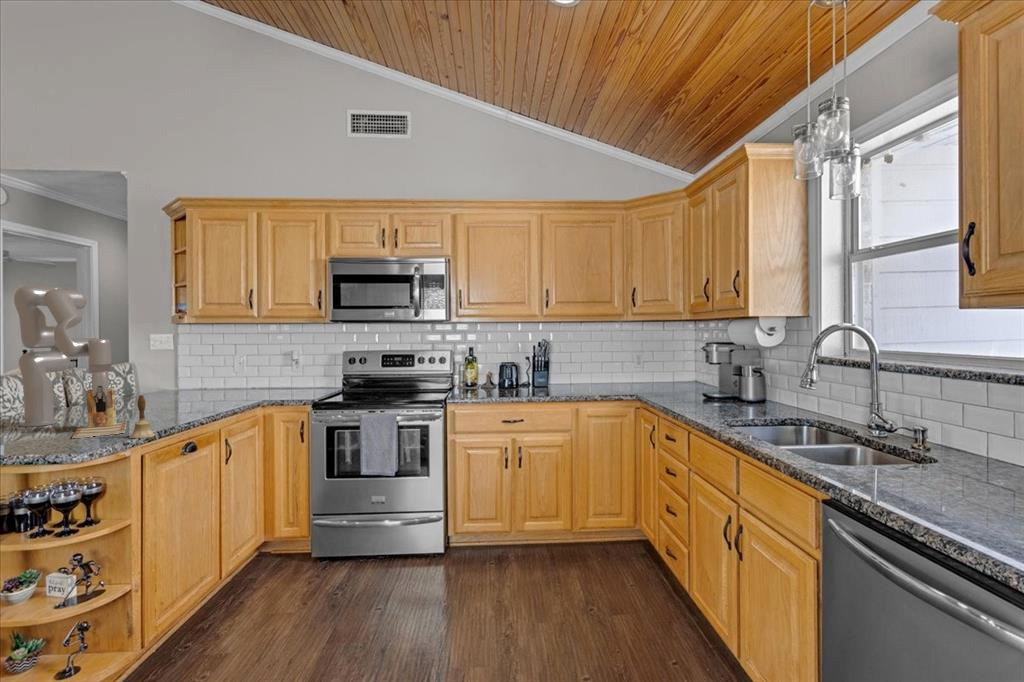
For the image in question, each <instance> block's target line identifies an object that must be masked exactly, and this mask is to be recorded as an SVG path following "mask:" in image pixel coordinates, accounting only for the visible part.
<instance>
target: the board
mask: <svg viewBox="0 0 1024 682" xmlns="http://www.w3.org/2000/svg"><path fill="white" fill-rule="evenodd" d="M126 426H127V427H128V423H127V421H123V422H116V424H115V425H114V426H102V427H90V428H88V425H80V426H79V427H77V429H76V431H75V432H74V434H72V439H73V438H81V439H84V438H83V437H90V438H94V437H93V436H100V435H110V434H119V433H125V434H126V431H125V430H127V427H126ZM110 436H111V435H110ZM100 437H101V436H100Z"/></svg>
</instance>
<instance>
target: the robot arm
mask: <svg viewBox="0 0 1024 682" xmlns="http://www.w3.org/2000/svg"><path fill="white" fill-rule="evenodd" d="M13 296H14V297H13V303H14V307H15V309H16V312H17V314H18V318H19V327H20V339H21V343H22V346H23V347H25V348H27V349H50V350H42V351H31V352H25V353H24V354H22V355H21V356H20V357H19V358H18V366H19V369H20V373H21V379H22V390H23V409H24V410H23V411H24V421H23V422H20V423H19V425H20V427H23V428H24V427H26V428H27V427H28V428H29V427H41V426H49V425H54V424H58V423H59V419H57V418H55V417H54V416H55V415H54V398H53V397H54V394H53V383H52V380H51V379H50V377H49V376H48V375H47V374H48V373H59V372H64V371H67V370H68V369H69V367H70V364H71V358H80V357H81V358H83V357H87V359H88V360H87V361H88V362H87V363H88V373H89V374H91V389H92V397H95V396H96V412H105V411H106V402H105V396H107V392H108V389H109V385H110V384H109V373H111V372H112V369H113V368H112V367H113V366H112V348H111V347H112V345H111V340H110V339H108V338H94V337H87V338H85V337H84V338H83V337H82V338H71V337H70V336H69V333H68V332H67V330H68V329H72V328H73V327H76V326H77V325H79V324H80V323H81V322H82V320H83V316H82V314H81V313H80V311H79V310H81V309H84V308H85V307H86V306H87V298H86V295H85V294H84V293H83V292H82V291H81V290H79V289H73V288H69V287H63V286H62V287H61V286H45V285H24V286H21V287H19V288H18V289H17V290H16V291H15V292H14V295H13ZM39 306H40V307H47V308H48V310H49V312H50V313H51V315H52V317H53V318H54V320H55V321H56V323H57V324H56V325H54V326H49V325H48V326H47V321H46V320H47V319H46V318H47V317H46V315H45V314H44V312H43V311H42V309H40V308H39Z"/></svg>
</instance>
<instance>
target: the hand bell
mask: <svg viewBox="0 0 1024 682" xmlns="http://www.w3.org/2000/svg"><path fill="white" fill-rule="evenodd" d="M146 406H147V404H146V399H145V397H144V394H143V395H142V394H141V395H138V399H137V409H138V413H139V416H138V417H139V418H138V419H139V420H138V421H137V422H135V424H134V428H133V431H132V433H131V435H130V436H129V437H131V438H141V439H147V438H152V437H155V436H156V433H154V432H153V431H152V429H151V426H150V422H149V421H147V420H145V411H146ZM131 438H130V439H131Z"/></svg>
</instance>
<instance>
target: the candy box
mask: <svg viewBox="0 0 1024 682" xmlns="http://www.w3.org/2000/svg"><path fill="white" fill-rule="evenodd" d="M85 393H86V409H87V410H86V412H87V426H88V428H90V427H102V426H114V425H115V424H116V423H117V411H116V409H117V408H116V390H115V387H113V388H112V387H111V388H109V389H108V392H107V396H105V402H106V411H105V412H96V396H95V397H92V388H91V389H88V390H86V391H85Z"/></svg>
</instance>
